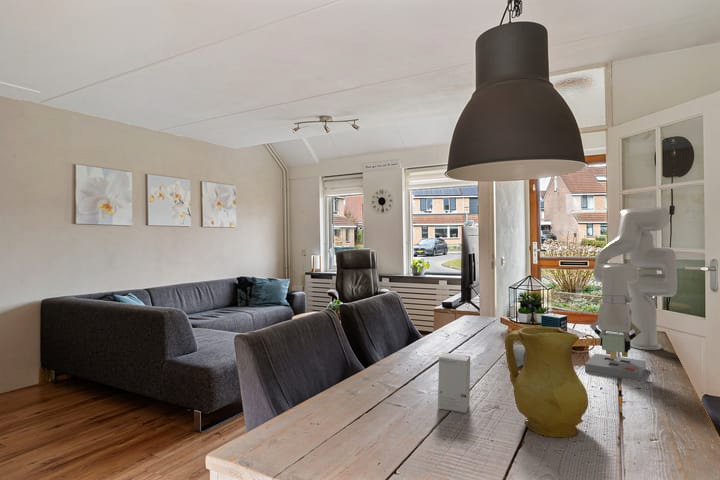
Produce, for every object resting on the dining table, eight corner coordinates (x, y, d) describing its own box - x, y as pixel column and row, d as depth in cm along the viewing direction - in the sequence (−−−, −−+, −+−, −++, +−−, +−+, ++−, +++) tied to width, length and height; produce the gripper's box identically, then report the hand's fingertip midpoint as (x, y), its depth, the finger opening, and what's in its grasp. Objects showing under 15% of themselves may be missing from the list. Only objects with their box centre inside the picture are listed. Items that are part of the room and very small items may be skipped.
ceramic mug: (523, 361, 162) (523, 341, 162) (540, 367, 155) (539, 346, 155) (501, 365, 159) (501, 344, 159) (517, 371, 151) (516, 350, 151)
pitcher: (546, 446, 96) (543, 336, 97) (498, 418, 114) (496, 325, 115) (606, 437, 101) (602, 332, 102) (550, 411, 119) (548, 322, 120)
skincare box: (437, 409, 119) (436, 357, 119) (442, 401, 124) (441, 351, 124) (467, 413, 116) (466, 360, 115) (471, 405, 121) (470, 354, 121)
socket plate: (595, 361, 160) (595, 351, 160) (645, 369, 150) (645, 359, 150) (585, 371, 148) (584, 361, 148) (638, 381, 138) (638, 370, 138)
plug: (607, 353, 154) (606, 331, 154) (628, 356, 150) (627, 334, 150) (602, 357, 148) (601, 335, 148) (623, 360, 144) (623, 338, 144)
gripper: (645, 300, 146) (645, 351, 146) (589, 296, 157) (590, 344, 157) (642, 303, 140) (642, 356, 140) (584, 299, 152) (585, 348, 152)
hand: (615, 349), depth 149 cm, fingers closed on plug, 6 cm apart
